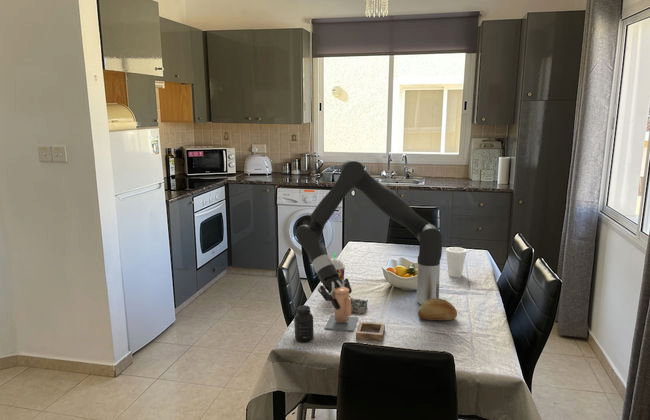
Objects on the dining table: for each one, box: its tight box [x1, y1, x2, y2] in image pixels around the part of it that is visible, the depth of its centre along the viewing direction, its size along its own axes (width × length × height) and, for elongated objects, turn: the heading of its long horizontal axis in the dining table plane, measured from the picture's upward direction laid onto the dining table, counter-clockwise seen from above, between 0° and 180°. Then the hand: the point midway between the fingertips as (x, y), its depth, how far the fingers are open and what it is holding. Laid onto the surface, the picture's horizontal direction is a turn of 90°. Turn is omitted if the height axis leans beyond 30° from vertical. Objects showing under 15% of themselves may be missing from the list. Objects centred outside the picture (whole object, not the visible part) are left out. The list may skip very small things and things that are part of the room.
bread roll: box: [417, 298, 458, 321], centre depth 186 cm, size 10×15×8 cm, turn 85°
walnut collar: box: [355, 321, 386, 342], centre depth 174 cm, size 9×9×2 cm
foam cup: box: [445, 246, 467, 278], centre depth 235 cm, size 10×9×13 cm
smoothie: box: [330, 251, 346, 286], centre depth 210 cm, size 8×8×20 cm
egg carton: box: [350, 297, 369, 314], centre depth 197 cm, size 11×8×4 cm
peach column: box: [334, 287, 352, 322], centre depth 181 cm, size 8×6×12 cm
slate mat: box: [324, 314, 359, 333], centre depth 183 cm, size 11×12×1 cm
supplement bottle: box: [293, 304, 315, 344], centre depth 170 cm, size 7×7×12 cm
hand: (344, 306), depth 181 cm, fingers closed on peach column, 5 cm apart
